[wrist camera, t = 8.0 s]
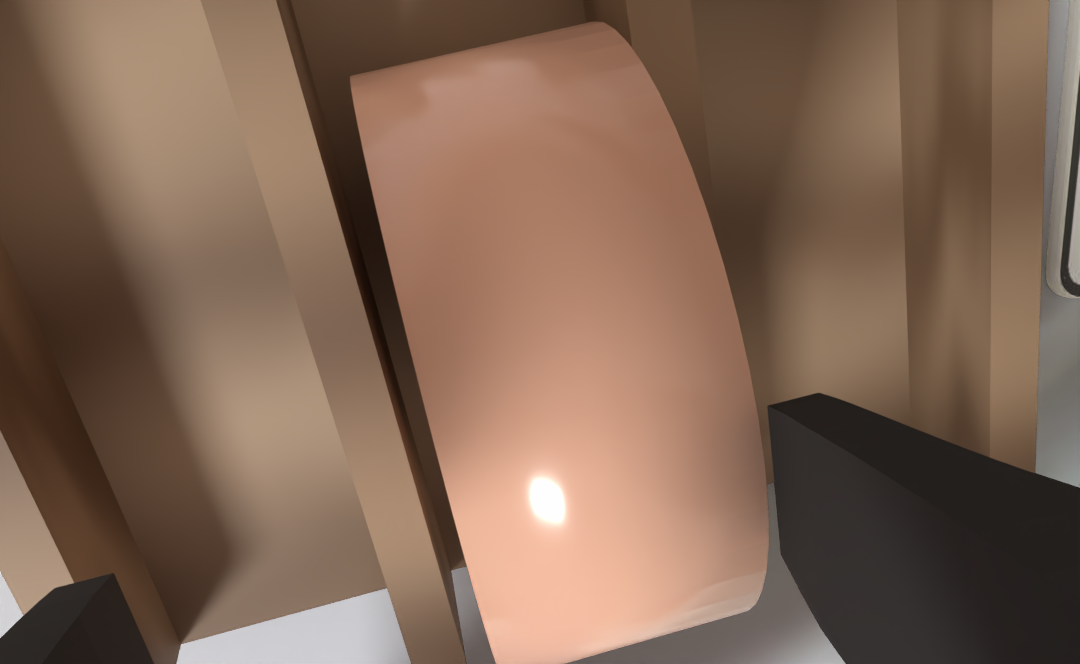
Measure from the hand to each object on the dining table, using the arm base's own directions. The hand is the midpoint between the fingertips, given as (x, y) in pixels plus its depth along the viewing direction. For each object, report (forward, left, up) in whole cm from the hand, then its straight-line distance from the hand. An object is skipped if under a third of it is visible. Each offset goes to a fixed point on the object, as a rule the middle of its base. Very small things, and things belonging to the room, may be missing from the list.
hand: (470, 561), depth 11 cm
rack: (0, -2, -10) cm, 10 cm away
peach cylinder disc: (0, -2, -9) cm, 9 cm away
